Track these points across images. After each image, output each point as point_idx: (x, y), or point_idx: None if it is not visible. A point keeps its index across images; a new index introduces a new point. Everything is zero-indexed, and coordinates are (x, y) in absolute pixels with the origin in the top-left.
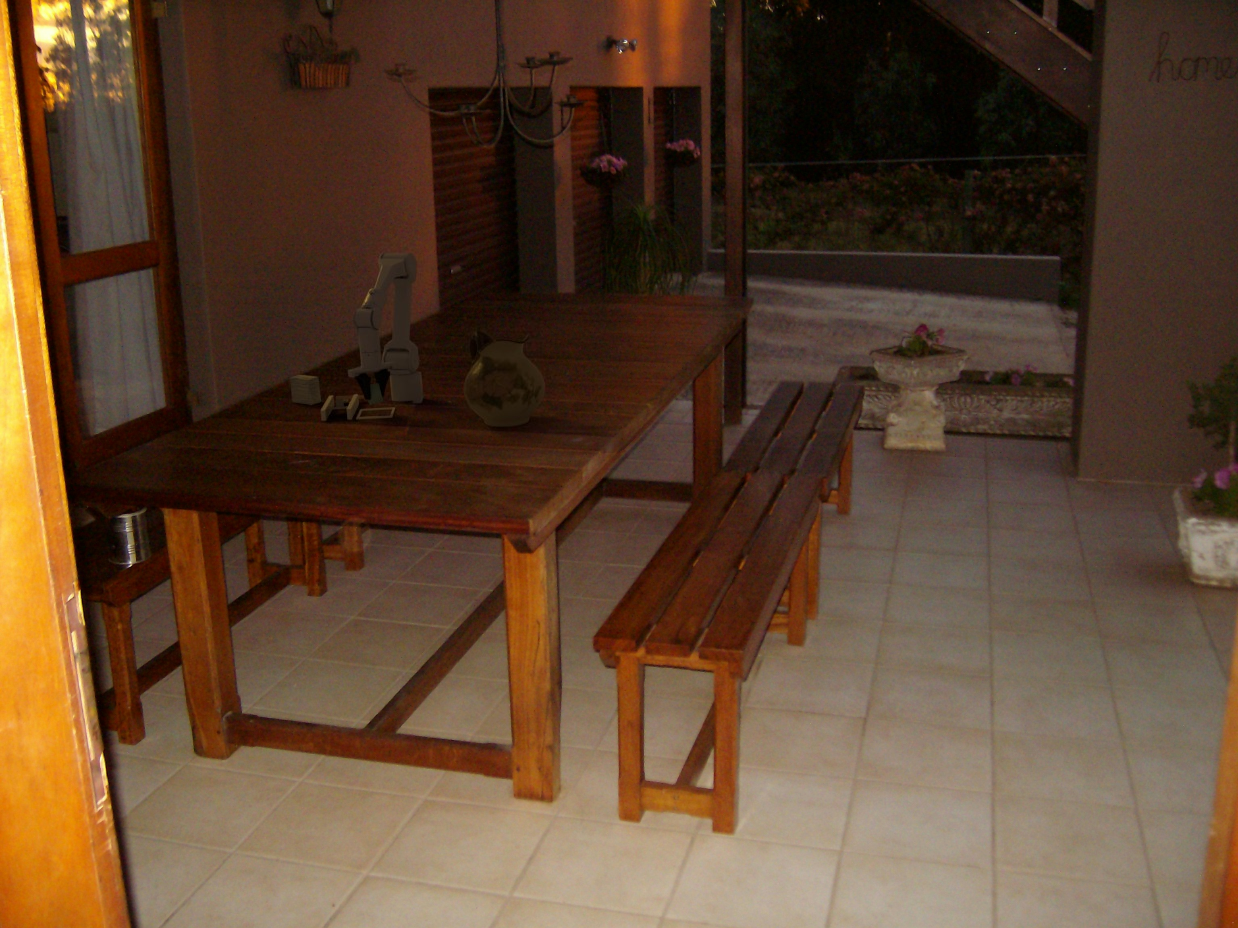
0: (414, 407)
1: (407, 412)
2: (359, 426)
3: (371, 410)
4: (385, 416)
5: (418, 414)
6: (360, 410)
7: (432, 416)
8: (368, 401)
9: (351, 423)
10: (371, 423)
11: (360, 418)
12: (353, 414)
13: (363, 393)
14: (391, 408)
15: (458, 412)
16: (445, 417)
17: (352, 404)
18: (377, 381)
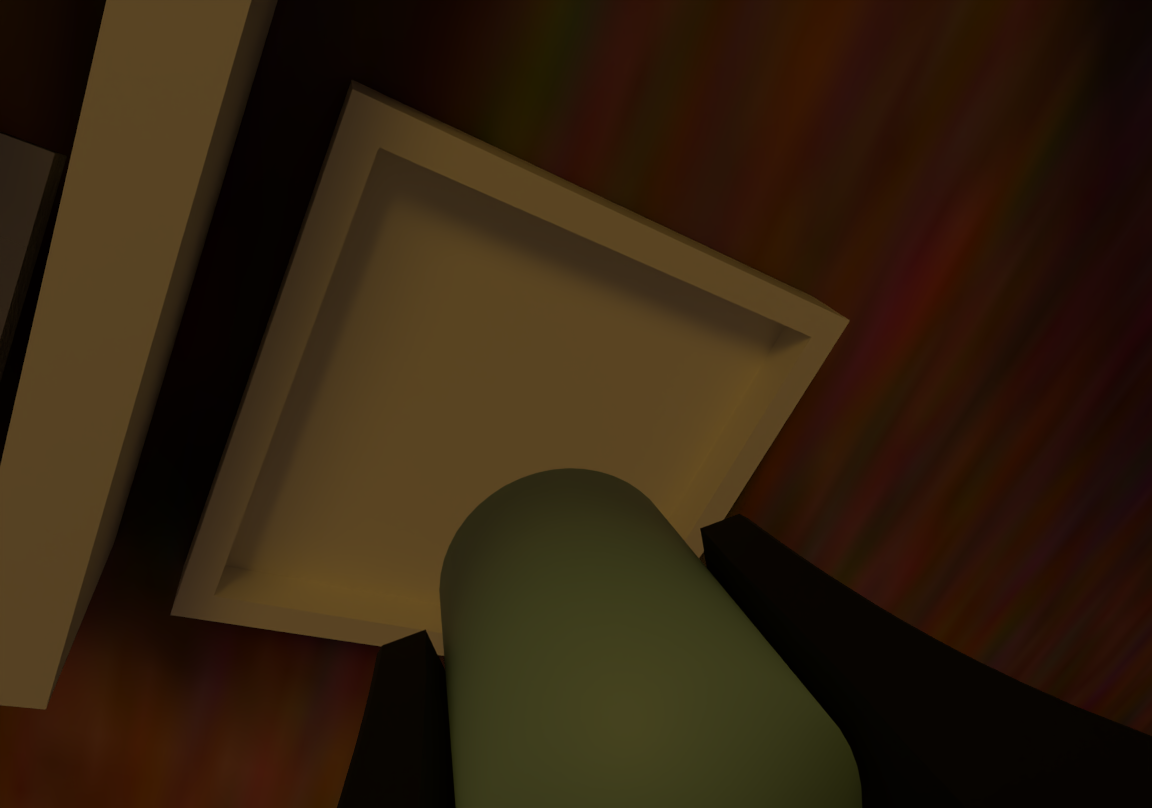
0: (1088, 192)
1: (894, 384)
2: (194, 719)
3: (531, 210)
4: None
5: (914, 516)
6: (332, 201)
7: (944, 628)
8: (442, 614)
9: None
10: (364, 653)
11: (237, 617)
12: (155, 387)
13: (365, 756)
14: (794, 325)
15: (1139, 594)
16: None
17: (117, 418)
18: (902, 791)
